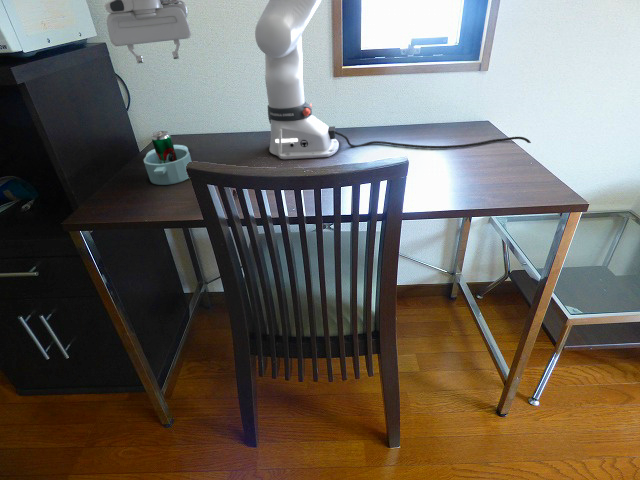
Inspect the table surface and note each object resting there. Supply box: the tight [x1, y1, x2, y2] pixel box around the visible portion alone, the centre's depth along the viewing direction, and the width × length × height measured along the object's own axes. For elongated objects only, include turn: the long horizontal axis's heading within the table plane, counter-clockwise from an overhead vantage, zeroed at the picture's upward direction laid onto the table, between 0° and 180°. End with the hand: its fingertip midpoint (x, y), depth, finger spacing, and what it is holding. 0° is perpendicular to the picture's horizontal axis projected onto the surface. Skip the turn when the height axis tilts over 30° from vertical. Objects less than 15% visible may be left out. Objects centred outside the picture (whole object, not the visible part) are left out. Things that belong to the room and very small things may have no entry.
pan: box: [142, 147, 193, 186], centre depth 111 cm, size 12×18×6 cm
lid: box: [145, 144, 189, 157], centre depth 126 cm, size 13×13×4 cm
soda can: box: [151, 130, 177, 164], centre depth 109 cm, size 5×5×12 cm
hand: (158, 60), depth 105 cm, fingers open, 8 cm apart
